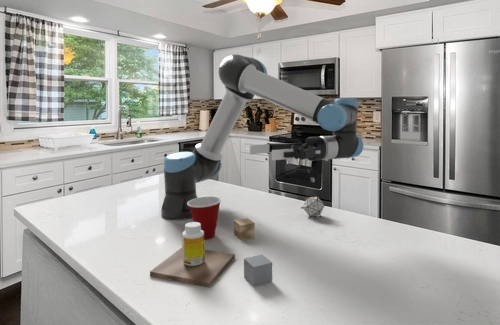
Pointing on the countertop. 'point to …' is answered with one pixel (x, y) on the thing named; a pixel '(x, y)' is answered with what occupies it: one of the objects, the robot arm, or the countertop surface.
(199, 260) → the supplement bottle
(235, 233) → the oak block
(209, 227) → the plastic cup
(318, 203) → the game die
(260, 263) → the slate block
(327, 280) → the countertop surface
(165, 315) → the countertop surface
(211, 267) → the walnut board
